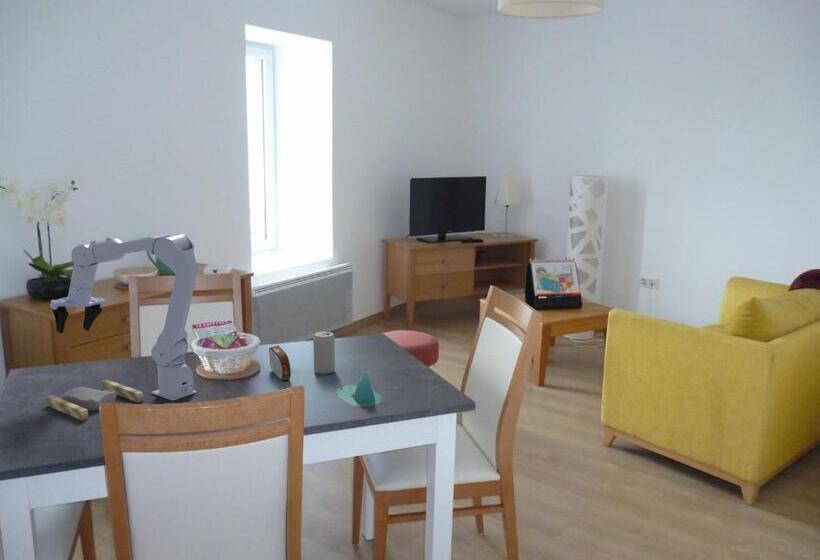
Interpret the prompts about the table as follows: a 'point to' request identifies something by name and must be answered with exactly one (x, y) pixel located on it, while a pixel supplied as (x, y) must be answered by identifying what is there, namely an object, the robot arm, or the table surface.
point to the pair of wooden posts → (82, 412)
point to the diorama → (359, 393)
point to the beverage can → (324, 352)
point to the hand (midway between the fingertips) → (72, 330)
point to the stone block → (89, 397)
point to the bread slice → (279, 363)
